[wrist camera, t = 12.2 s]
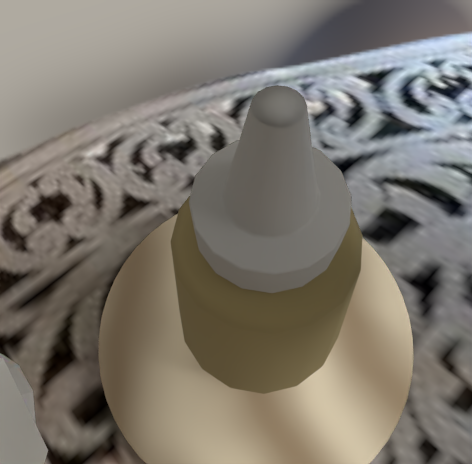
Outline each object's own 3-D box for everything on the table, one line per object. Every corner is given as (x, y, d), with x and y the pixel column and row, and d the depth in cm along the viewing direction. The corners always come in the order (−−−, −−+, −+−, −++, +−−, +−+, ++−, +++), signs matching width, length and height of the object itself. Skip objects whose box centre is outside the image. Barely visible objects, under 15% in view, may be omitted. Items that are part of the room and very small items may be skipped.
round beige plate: (329, 176, 32) (346, 119, 26) (464, 435, 24) (528, 430, 18) (83, 249, 29) (46, 204, 24) (142, 563, 21) (108, 600, 16)
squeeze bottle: (288, 243, 27) (348, -49, 11) (355, 363, 24) (572, 187, 8) (168, 293, 26) (45, 42, 10) (220, 428, 23) (159, 371, 7)
